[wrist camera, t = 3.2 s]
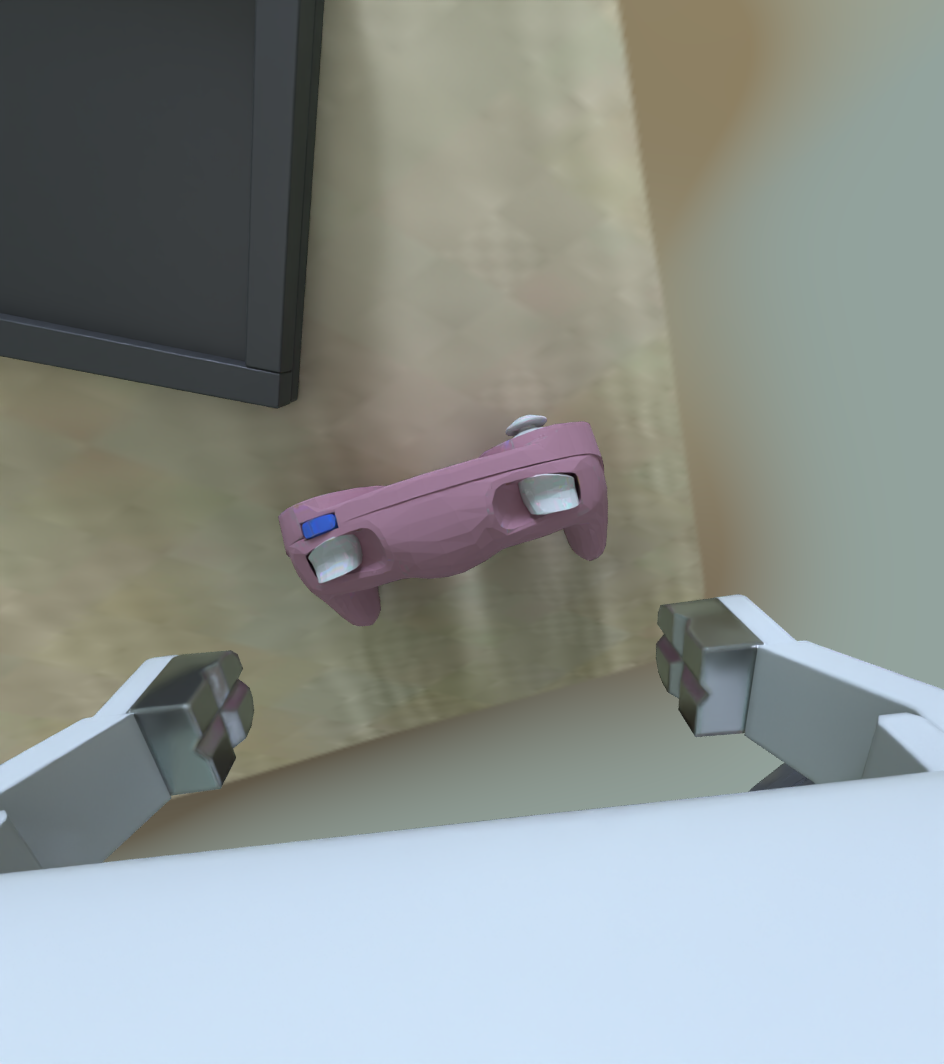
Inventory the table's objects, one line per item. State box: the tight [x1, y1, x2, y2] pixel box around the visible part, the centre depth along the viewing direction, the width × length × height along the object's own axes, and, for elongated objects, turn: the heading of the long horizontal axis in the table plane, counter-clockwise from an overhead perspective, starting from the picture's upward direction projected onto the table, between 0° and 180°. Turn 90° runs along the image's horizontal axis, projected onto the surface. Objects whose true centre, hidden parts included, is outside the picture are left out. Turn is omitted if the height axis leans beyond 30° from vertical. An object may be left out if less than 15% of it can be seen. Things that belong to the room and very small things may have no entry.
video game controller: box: [278, 415, 608, 626], centre depth 15 cm, size 10×5×7 cm, turn 107°
